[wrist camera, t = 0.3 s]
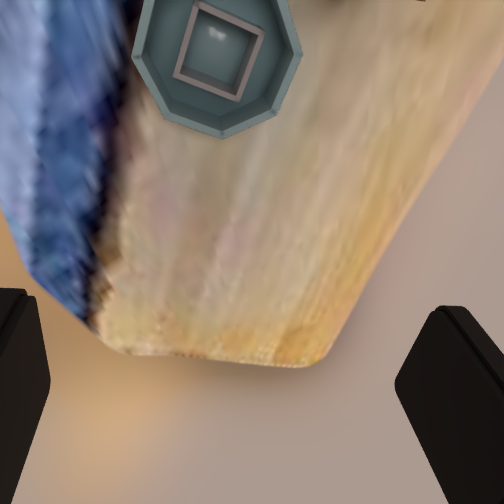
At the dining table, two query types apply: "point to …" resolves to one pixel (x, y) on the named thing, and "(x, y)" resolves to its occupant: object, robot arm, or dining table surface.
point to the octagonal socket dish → (217, 61)
